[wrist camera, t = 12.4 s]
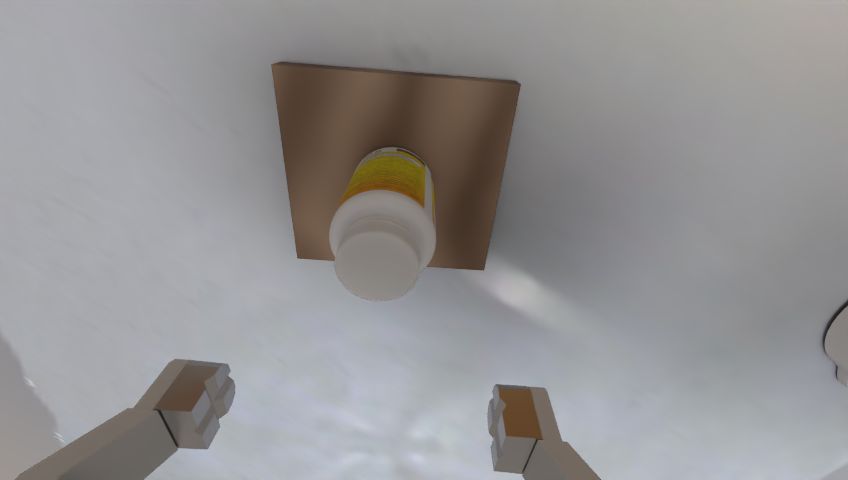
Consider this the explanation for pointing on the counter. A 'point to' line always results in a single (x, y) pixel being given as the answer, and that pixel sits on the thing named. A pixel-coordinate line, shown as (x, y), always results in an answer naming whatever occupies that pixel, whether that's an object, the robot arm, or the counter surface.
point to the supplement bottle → (384, 225)
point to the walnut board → (395, 127)
